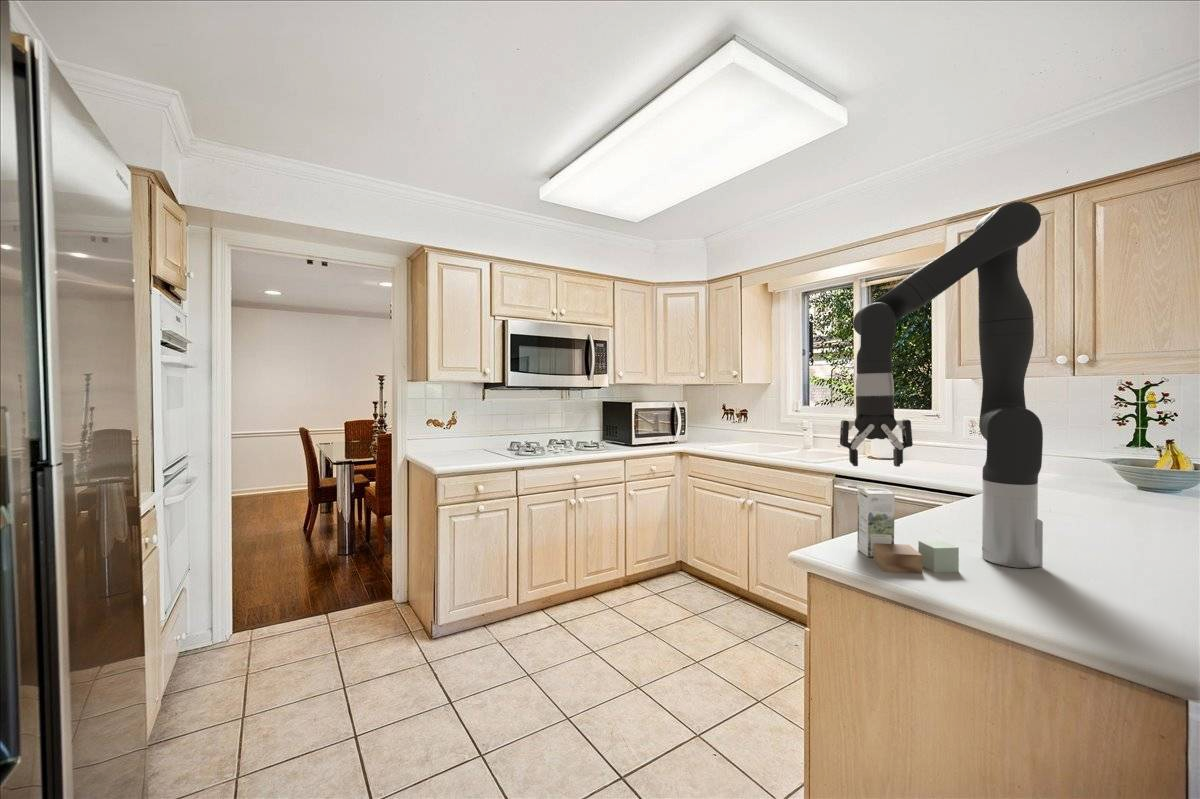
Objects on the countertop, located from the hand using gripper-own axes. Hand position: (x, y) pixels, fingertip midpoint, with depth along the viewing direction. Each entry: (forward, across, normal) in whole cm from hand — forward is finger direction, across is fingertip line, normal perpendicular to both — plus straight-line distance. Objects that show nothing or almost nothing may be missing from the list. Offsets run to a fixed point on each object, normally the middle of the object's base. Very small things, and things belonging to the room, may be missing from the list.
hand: (875, 466), depth 115 cm
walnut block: (+20, -2, +8) cm, 22 cm away
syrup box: (+20, 0, 0) cm, 20 cm away
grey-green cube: (+20, -10, +7) cm, 23 cm away
